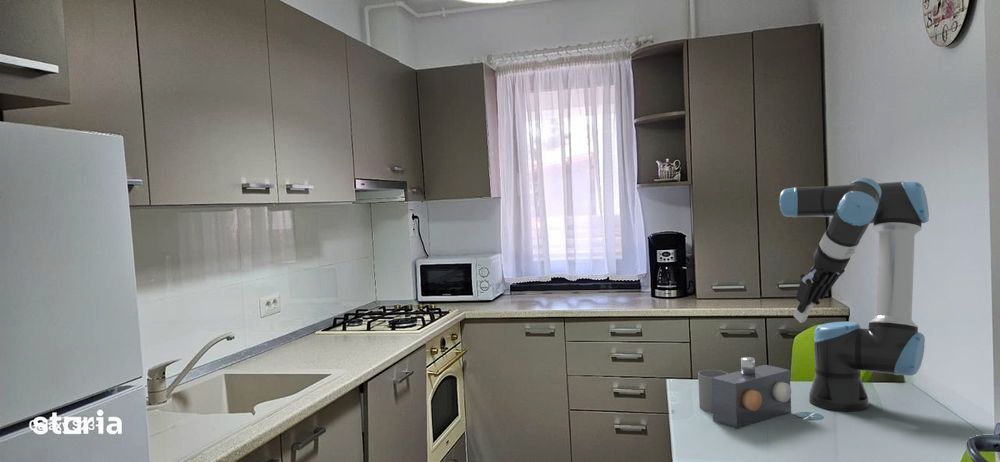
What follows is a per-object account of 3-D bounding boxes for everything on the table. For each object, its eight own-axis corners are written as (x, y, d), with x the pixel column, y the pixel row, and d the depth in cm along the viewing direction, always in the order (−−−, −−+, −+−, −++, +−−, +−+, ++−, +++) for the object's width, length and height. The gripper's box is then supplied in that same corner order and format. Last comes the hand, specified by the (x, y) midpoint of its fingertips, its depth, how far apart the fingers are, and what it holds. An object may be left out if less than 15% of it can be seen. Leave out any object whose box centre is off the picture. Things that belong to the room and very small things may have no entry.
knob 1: (762, 408, 172) (761, 389, 172) (748, 412, 170) (748, 393, 170) (732, 400, 181) (731, 381, 181) (719, 403, 178) (718, 384, 178)
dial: (754, 371, 181) (754, 357, 181) (755, 374, 178) (755, 360, 177) (741, 371, 182) (740, 357, 182) (741, 374, 179) (741, 360, 179)
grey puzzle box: (791, 412, 181) (789, 370, 181) (736, 429, 170) (735, 383, 170) (766, 405, 188) (765, 364, 188) (713, 421, 177) (711, 377, 177)
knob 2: (791, 400, 178) (790, 381, 178) (779, 404, 176) (778, 384, 175) (761, 392, 187) (760, 374, 187) (749, 395, 184) (748, 377, 184)
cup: (731, 412, 184) (730, 377, 184) (701, 412, 186) (699, 377, 185) (727, 403, 192) (726, 369, 192) (698, 403, 194) (697, 369, 193)
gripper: (826, 266, 151) (790, 335, 166) (866, 254, 156) (827, 322, 171) (803, 246, 156) (770, 315, 171) (842, 235, 161) (806, 303, 176)
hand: (799, 318), depth 171 cm, fingers closed
